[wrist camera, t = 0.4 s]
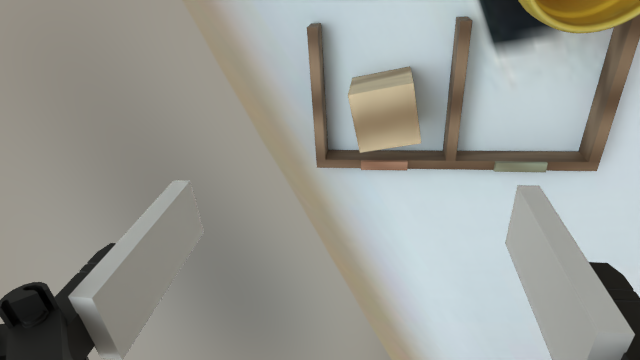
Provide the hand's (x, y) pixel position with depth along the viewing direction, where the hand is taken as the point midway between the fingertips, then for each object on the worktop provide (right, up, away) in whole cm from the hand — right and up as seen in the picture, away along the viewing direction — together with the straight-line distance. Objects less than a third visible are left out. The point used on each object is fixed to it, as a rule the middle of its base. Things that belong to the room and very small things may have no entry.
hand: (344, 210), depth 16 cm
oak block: (+6, +10, +26) cm, 29 cm away
